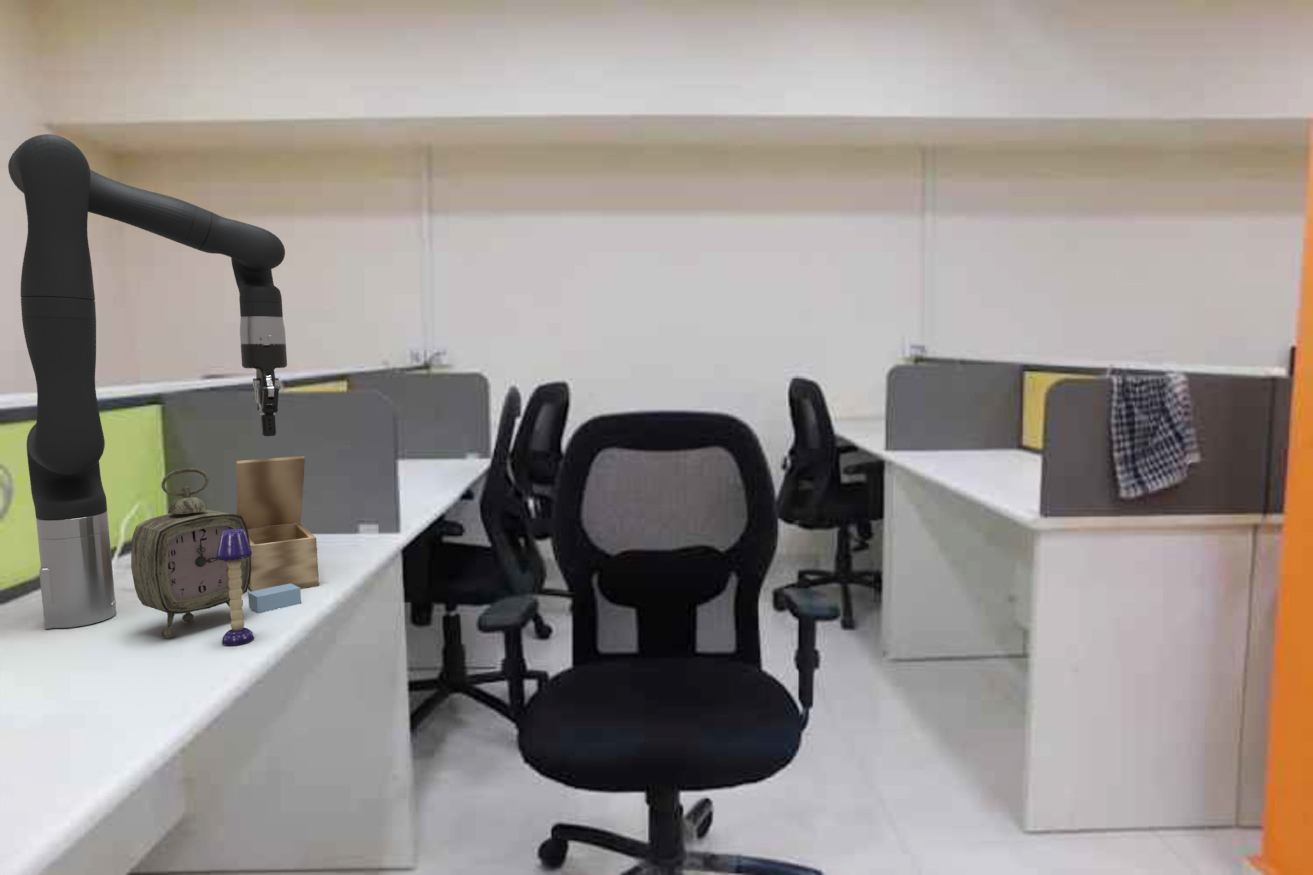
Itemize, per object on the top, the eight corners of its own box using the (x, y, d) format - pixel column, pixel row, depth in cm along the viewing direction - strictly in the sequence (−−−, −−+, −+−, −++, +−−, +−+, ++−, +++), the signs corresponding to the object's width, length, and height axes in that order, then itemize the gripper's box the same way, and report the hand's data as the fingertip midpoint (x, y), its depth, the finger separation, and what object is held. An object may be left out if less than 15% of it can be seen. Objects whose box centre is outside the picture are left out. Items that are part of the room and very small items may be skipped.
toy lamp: (224, 637, 120) (217, 528, 118) (259, 632, 121) (252, 525, 119) (219, 647, 115) (211, 535, 113) (255, 643, 117) (248, 532, 115)
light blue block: (258, 614, 131) (256, 597, 130) (249, 609, 133) (248, 592, 133) (301, 604, 136) (300, 587, 135) (291, 599, 138) (290, 583, 138)
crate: (252, 596, 140) (249, 546, 139) (241, 575, 153) (237, 530, 152) (319, 585, 146) (316, 537, 145) (302, 566, 159) (299, 522, 158)
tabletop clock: (160, 644, 117) (147, 476, 114) (131, 633, 122) (117, 472, 119) (255, 616, 129) (245, 464, 126) (225, 607, 134) (214, 460, 131)
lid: (237, 463, 144) (236, 460, 144) (236, 529, 152) (236, 527, 152) (304, 458, 150) (304, 455, 150) (301, 522, 158) (300, 519, 159)
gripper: (236, 343, 150) (242, 434, 151) (245, 341, 139) (251, 440, 141) (279, 342, 154) (285, 431, 156) (291, 341, 143) (297, 437, 145)
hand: (269, 435), depth 148 cm, fingers closed
